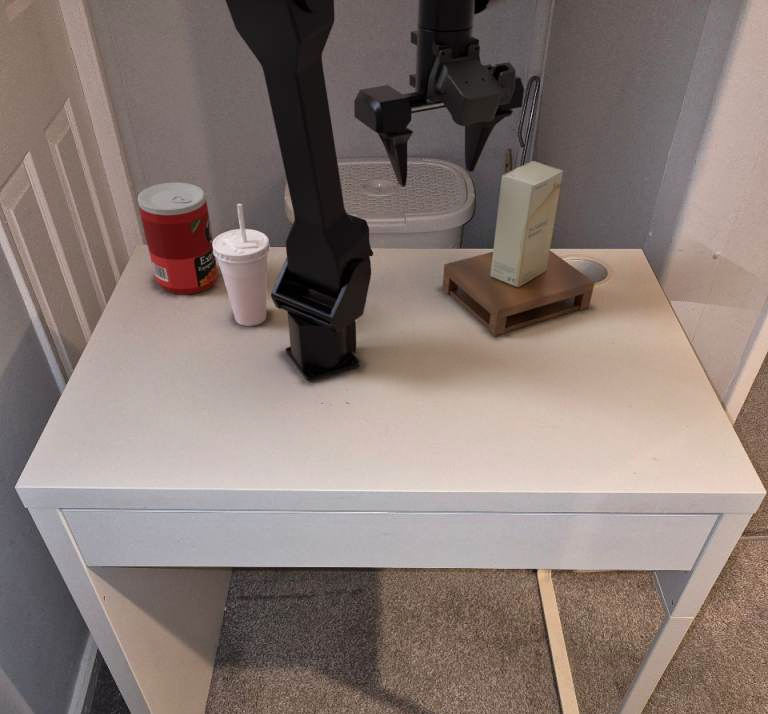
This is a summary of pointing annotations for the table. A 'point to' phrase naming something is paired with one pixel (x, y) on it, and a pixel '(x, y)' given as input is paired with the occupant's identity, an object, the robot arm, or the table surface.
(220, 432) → the table surface
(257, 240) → the smoothie
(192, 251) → the canned food
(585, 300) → the shelf
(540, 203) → the cosmetic box
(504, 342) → the table surface
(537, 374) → the table surface
